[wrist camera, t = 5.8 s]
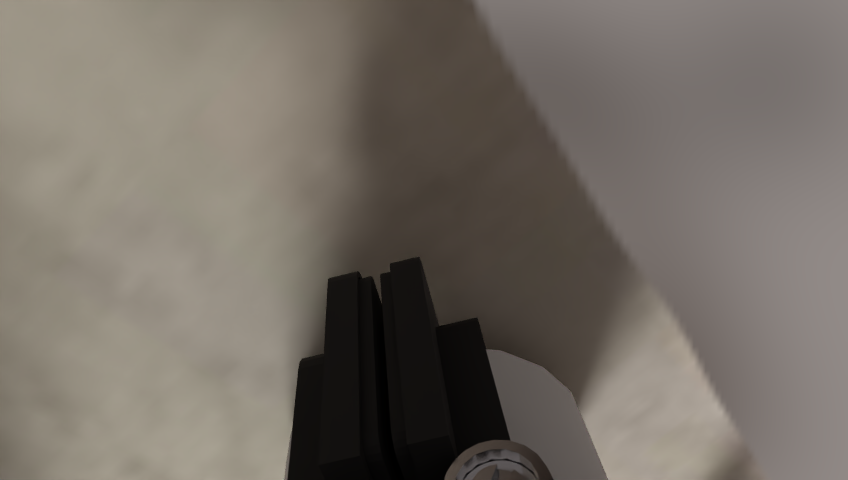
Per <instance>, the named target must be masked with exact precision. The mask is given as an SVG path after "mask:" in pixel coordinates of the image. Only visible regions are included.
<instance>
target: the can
mask: <svg viewBox="0 0 848 480" xmlns="http://www.w3.org/2000/svg"><path fill="white" fill-rule="evenodd" d="M486 351H487V355H488V359H489V362H490V366H491V370H492V374H493V377H494V381H495V385H496V388H497V392H498V396H499V399H500V403H501V407H502V410H503V414H504V418H505V422H506V425H507V429H508V433H509V436H510V440H511V441H513V442H516V443H520V444H523V445H525V446H527V447H528V448H530V449H531V450H533V451H534V452H535V453H537V454H538V455H539V456H540V458H541V459H542V460H543V462H544V463H545V464H546V466H547V468H548V469H549V471H550V473H551V475H552V477H553V479H554V480H608V478H607V476H606V473H605V471H604V469H603V466H602V464H601V461H600V459H599V456H598V454H597V452H596V449H595V447H594V444H593V442H592V439H591V437H590V435H589V432H588V430H587V427H586V425H585V423H584V420H583V418H582V416H581V413H580V411H579V409H578V406H577V404H576V402H575V399H574V397H573V395H572V393H571V391H570V390H569V389H568V388H567V387H565V386H564V385H563V384H562V383H561V382H560V381H559V380H557V379H556V378H555V377H554V376H553V375H552V374H551V373H549V372H548V371H547V370H546V369H545V368H544V367H542V366H540V365H537V364H535V363H532V362H530V361H527V360H524V359H522V358H519V357H517V356H514V355H512V354H509V353H506V352H504V351H501V350H491V349H486ZM291 438H292V432H291V436H290V442H289V449H288V455H287V461H286V469H285V479H284V480H287V478H288V468H289V458H290V448H291Z"/></svg>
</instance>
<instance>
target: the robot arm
mask: <svg viewBox="0 0 848 480" xmlns="http://www.w3.org/2000/svg"><path fill="white" fill-rule="evenodd" d="M380 280H381V294H382V303H381V300H380V297H379V294H378V291H377V288H376V285H375V282H374V280H373V278H372V276H370V277H366V278H362V276H361V274H360V272H358V271H357V272H353V273H349V274H345V275H340V276H336V277H332V278H329V279H328V288H327V307H326V326H325V345H324V354H320V355H316V356H312V357H308V358H303V359H302V360H301V361H300V364H299V369H298V378H297V388H296V398H295V408H294V418H293V428H292V438H291V448H290V458H289V468H288V478H287V480H554V479H553V477H552V475H551V473H550V471H549V469H548V468H547V466H546V464H545V463H544V462H543V460H542V459H541V458H540V456H539V455H538V454H537V453H535V452H534V451H533V450H531V449H530V448H528V447H527V446H525V445H523V444H520V443H516V442H513V441H511V440H510V436H509V433H508V429H507V425H506V422H505V418H504V414H503V410H502V407H501V403H500V399H499V396H498V392H497V388H496V385H495V381H494V377H493V374H492V370H491V366H490V362H489V359H488V355H487V351H486V348H485V344H484V340H483V337H482V333H481V329H480V326H479V322H478V319H477V318H472V319H468V320H464V321H460V322H455V323H451V324H447V325H443V326H439V325H438V321H437V318H436V314H435V310H434V307H433V303H432V299H431V296H430V292H429V288H428V285H427V281H426V277H425V274H424V270H423V266H422V263H421V260H420V257H415V258H411V259H407V260H403V261H399V262H394V263H390V272H387V273H383V274H381V275H380Z"/></svg>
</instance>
